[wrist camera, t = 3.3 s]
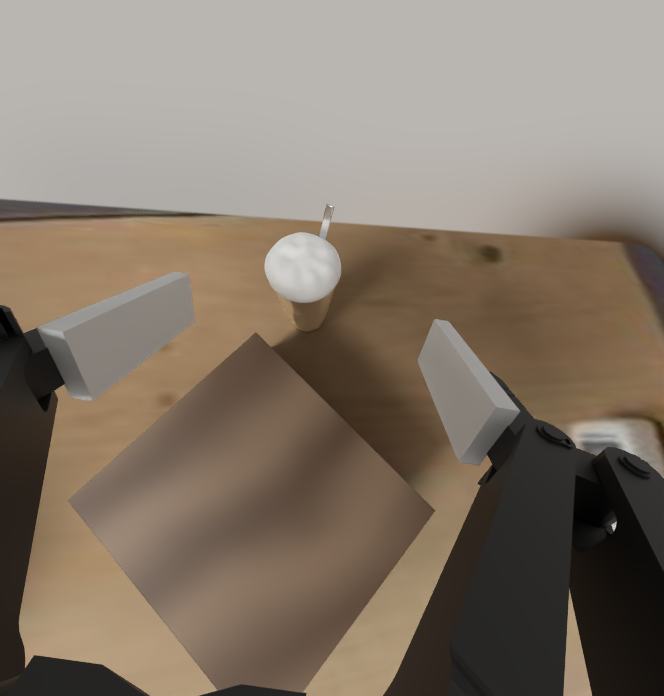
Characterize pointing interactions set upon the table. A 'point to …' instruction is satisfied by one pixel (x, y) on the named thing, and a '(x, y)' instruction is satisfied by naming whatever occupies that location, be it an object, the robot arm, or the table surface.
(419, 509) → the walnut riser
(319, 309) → the milkshake
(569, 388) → the table surface
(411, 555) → the table surface
